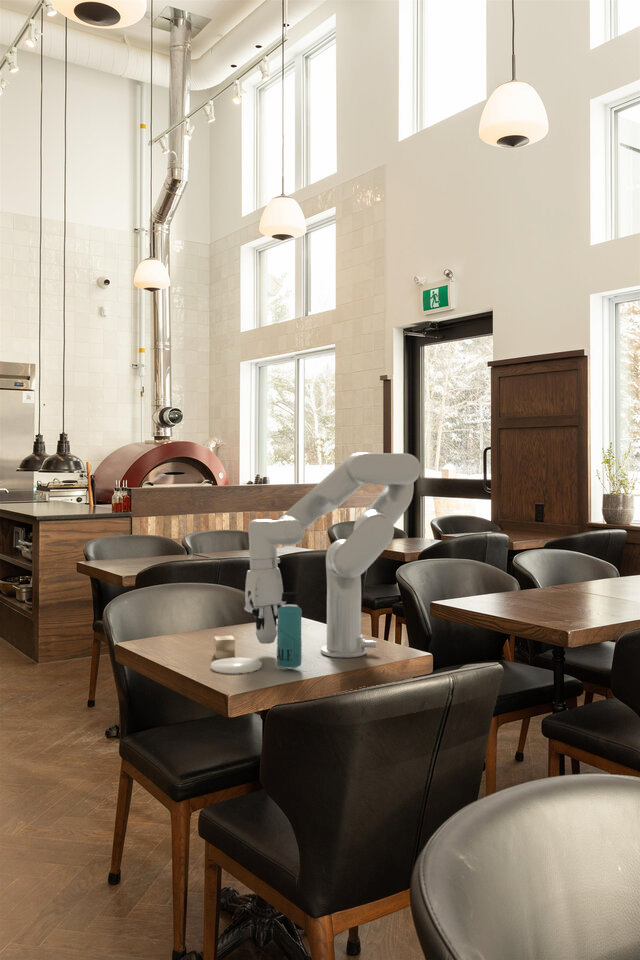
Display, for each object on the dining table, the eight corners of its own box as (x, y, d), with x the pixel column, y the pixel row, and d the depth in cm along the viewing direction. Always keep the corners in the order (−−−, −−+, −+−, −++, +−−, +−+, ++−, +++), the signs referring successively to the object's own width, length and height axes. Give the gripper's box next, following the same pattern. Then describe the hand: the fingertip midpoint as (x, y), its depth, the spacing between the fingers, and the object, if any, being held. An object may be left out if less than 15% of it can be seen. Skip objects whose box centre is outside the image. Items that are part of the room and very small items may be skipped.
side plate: (265, 662, 214) (265, 658, 214) (255, 674, 201) (256, 670, 201) (217, 660, 216) (217, 656, 216) (205, 672, 203) (205, 668, 203)
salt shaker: (274, 644, 219) (272, 596, 218) (253, 644, 220) (251, 597, 219) (279, 639, 224) (277, 593, 224) (259, 639, 225) (257, 593, 225)
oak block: (232, 653, 224) (232, 635, 224) (234, 657, 219) (234, 639, 219) (214, 654, 223) (214, 636, 223) (216, 658, 218) (216, 640, 218)
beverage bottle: (301, 667, 209) (302, 590, 209) (302, 673, 203) (302, 594, 202) (276, 667, 209) (277, 590, 209) (276, 673, 202) (276, 594, 202)
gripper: (280, 560, 229) (282, 624, 230) (230, 566, 219) (234, 633, 220) (295, 562, 223) (298, 628, 224) (246, 568, 213) (249, 638, 214)
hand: (266, 630), depth 222 cm, fingers closed on salt shaker, 3 cm apart
